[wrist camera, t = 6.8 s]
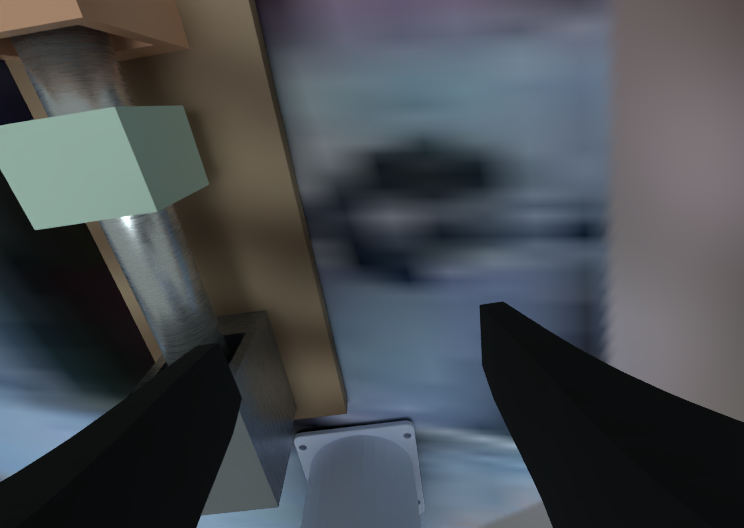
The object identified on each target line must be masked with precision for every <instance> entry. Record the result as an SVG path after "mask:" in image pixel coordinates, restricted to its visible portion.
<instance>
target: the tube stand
mask: <svg viewBox="0 0 744 528" xmlns="http://www.w3.org/2000/svg"><path fill="white" fill-rule="evenodd" d="M75 25H81V26H85V27H89V28H92V29H96V30H100V31H104V32H107V34H108V37H109V40H110V42H111V45H112V47H113V50H114V53H115V55H116V58H117V60H118V63H119V66H120V68H121V71H122V73H123V76H124V79H125V81H126V84H127V86H128V89H129V92H130V94H131V97H132V99H133V102H134V105H135V106H174V105H183V107H184V110H185V113H186V116H187V119H188V122H189V125H190V128H191V131H192V134H193V137H194V140H195V143H196V146H197V149H198V152H199V155H200V158H201V161H202V164H203V167H204V170H205V173H206V176H207V179H208V182H209V185H207V186H205V187H204V188H202V189H200V190H198V191H196V192H194V193H192V194H190V195H188V196H186V197H185V198H183V199H181V200H179V201H177V202H175V203H173V206H174V209H175V211H176V214H177V216H178V219H179V222H180V224H181V227H182V229H183V232H184V234H185V237H186V240H187V242H188V245H189V247H190V250H191V253H192V255H193V258H194V260H195V263H196V266H197V268H198V271H199V273H200V276H201V279H202V281H203V284H204V286H205V289H206V292H207V294H208V297H209V299H210V302H211V305H212V307H213V310H214V312H215V315H216V318H217V320H218V323H219V325H220V328H221V331H222V333H223V336H224V338H225V341H226V344H227V346H228V349H229V351H230V354H231V357H232V360H231V362H230V364H229V367H230V370H231V372H232V375H233V377H234V380H235V382H236V385H237V387H238V389H239V392H240V394H241V397H242V400H241V404H240V409H239V413H238V418H237V421H236V425H235V429H234V432H233V435H232V438H231V441H230V443H229V446H228V449H227V451H226V454H225V456H224V459H223V461H222V464H221V466H220V469H219V471H218V474H217V476H216V479H215V481H214V484H213V487H212V489H211V492H210V494H209V497H208V499H207V502H206V504H205V507H204V509H203V512H202V514H201V515H209V514H219V513H228V512H238V511H247V510H256V509H266V508H275V507H278V506H279V502H280V497H281V493H282V488H283V483H284V479H285V474H286V470H287V465H288V460H289V456H290V451H291V447H292V442H293V438H294V433H295V432H294V429H293V422H294V420H297V419H305V418H314V417H322V416H331V415H339V414H347V397H346V393H345V388H344V384H343V380H342V375H341V371H340V367H339V362H338V358H337V354H336V350H335V345H334V341H333V337H332V332H331V328H330V324H329V319H328V315H327V311H326V306H325V302H324V298H323V293H322V289H321V285H320V281H319V276H318V272H317V268H316V263H315V259H314V255H313V250H312V246H311V242H310V237H309V233H308V229H307V224H306V220H305V216H304V211H303V207H302V203H301V199H300V194H299V190H298V186H297V181H296V177H295V173H294V168H293V164H292V160H291V155H290V151H289V147H288V142H287V138H286V134H285V130H284V125H283V121H282V117H281V112H280V108H279V104H278V99H277V95H276V91H275V86H274V82H273V78H272V73H271V69H270V65H269V61H268V56H267V52H266V48H265V43H264V39H263V35H262V30H261V26H260V22H259V17H258V13H257V9H256V4H255V0H0V59H2V60H5V62H6V64H7V66H8V68H9V70H10V72H11V74H12V76H13V78H14V80H15V82H16V84H17V86H18V88H19V90H20V92H21V94H22V96H23V98H24V100H25V102H26V104H27V106H28V108H29V110H30V112H31V114H32V116H33V118H34V120H37V119H43V118H48V116H47V114H46V112H45V110H44V108H43V105H42V103H41V101H40V99H39V97H38V95H37V93H36V91H35V89H34V87H33V85H32V83H31V81H30V79H29V76H28V74H27V72H26V70H25V68H24V66H23V64H22V62H21V60H20V58H19V56H18V54H17V52H16V50H15V47H14V45H13V43H12V41H11V39H10V37H12V36H18V35H24V34H29V33H35V32H41V31H46V30H52V29H58V28H63V27H69V26H75ZM86 224H87V226H88V228H89V230H90V232H91V234H92V236H93V238H94V240H95V242H96V244H97V246H98V248H99V250H100V252H101V254H102V256H103V258H104V260H105V262H106V264H107V266H108V268H109V270H110V272H111V274H112V276H113V278H114V280H115V282H116V284H117V286H118V288H119V290H120V292H121V294H122V296H123V298H124V300H125V302H126V304H127V306H128V308H129V310H130V312H131V314H132V316H133V318H134V320H135V322H136V324H137V326H138V328H139V330H140V332H141V334H142V336H143V338H144V340H145V342H146V344H147V346H148V348H149V350H150V352H151V354H152V356H153V358H154V360H155V362H156V363H155V364H154V365H153V366H152V368H151V369H150V370H149V371H148V372H147V374H146V375H145V376H144V377H143V379H142V380H141V381H140V382H139V384H138V385H137V386H136V387H135V389H134V390H133V391H132V392H131V393H130V395H131V394H132V393H134V392H135V391H136V390H138V389H139V388H140V387H142V386H143V385H144V384H146V383H147V382H148V381H150V380H151V379H152V378H153V377H155V376H156V375H157V374H159V373H160V372H161V371H163V370H164V369H165V368H167V367H168V364H167V362H166V360H165V358H164V356H163V354H162V352H161V350H160V348H159V346H158V344H157V342H156V340H155V337H154V335H153V333H152V331H151V329H150V327H149V325H148V323H147V321H146V319H145V317H144V315H143V313H142V311H141V308H140V306H139V304H138V302H137V300H136V298H135V296H134V294H133V292H132V290H131V288H130V286H129V284H128V282H127V279H126V277H125V275H124V273H123V271H122V269H121V267H120V265H119V263H118V261H117V259H116V257H115V255H114V253H113V250H112V248H111V246H110V244H109V242H108V240H107V238H106V236H105V234H104V232H103V230H102V228H101V226H100V224H99V221H92V222H86ZM130 395H129V396H130Z"/></svg>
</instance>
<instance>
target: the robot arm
mask: <svg viewBox="0 0 744 528" xmlns="http://www.w3.org/2000/svg"><path fill="white" fill-rule="evenodd" d="M480 325H481V348H482V366H483V369H484V372H485V375H486V378H487V381H488V384H489V387H490V390H491V393H492V395H493V398H494V401H495V403H496V405H497V407H498V409H499V411H500V413H501V415H502V417H503V419H504V421H505V424H506V426H507V428H508V430H509V432H510V434H511V436H512V438H513V440H514V442H515V444H516V446H517V448H518V450H519V452H520V454H521V456H522V458H523V460H524V462H525V464H526V466H527V469H528V471H529V473H530V475H531V477H532V479H533V481H534V483H535V485H536V487H537V490H538V492H539V494H540V496H541V499H542V501H543V503H544V506H545V508H546V511H547V514H548V516H549V519H550V521H551V524H552V526H553V528H744V422H741V421H738V420H736V419H733V418H731V417H728V416H725V415H723V414H720V413H718V412H715V411H712V410H710V409H707V408H705V407H702V406H700V405H697V404H695V403H692V402H689V401H687V400H685V399H682V398H680V397H677V396H675V395H672V394H670V393H668V392H665V391H663V390H661V389H659V388H656V387H654V386H652V385H650V384H648V383H645V382H644V381H641V380H639V379H637V378H635V377H633V376H630V375H628V374H626V373H624V372H622V371H620V370H618V369H616V368H614V367H612V366H610V365H608V364H606V363H604V362H603V361H601V360H599V359H597V358H595V357H593V356H591V355H590V354H588V353H586V352H584V351H582V350H580V349H579V348H577V347H575V346H573V345H572V344H570V343H568V342H567V341H565V340H563V339H561V338H560V337H558V336H557V335H555V334H553V333H552V332H550V331H548V330H547V329H545V328H544V327H542V326H540V325H539V324H537V323H536V322H534V321H533V320H531V319H529V318H528V317H526V316H525V315H523V314H522V313H520V312H519V311H517V310H516V309H514V308H512V307H511V306H509V305H508V304H506V303H504V302H497V303H490V304H483V305H480ZM241 400H242V397H241V394H240V392H239V389H238V387H237V385H236V382H235V380H234V377H233V375H232V372H231V370H230V367H229V365H228V363H227V360H226V358H225V355H224V353H223V350H222V348H221V345H220V343H212V344H205V345H198V346H197V347H195V348H193V349H192V350H190V351H189V352H187V353H186V354H184V355H183V356H182V357H180V358H179V359H177V360H176V361H175V362H173V363H172V364H171V365H169V366H168V367H167V368H165V369H164V370H163V371H161V372H160V373H159V374H157V375H156V376H155V377H153V378H152V379H151V380H150V381H148V382H147V383H146V384H144V385H143V386H142V387H140V388H139V389H138V390H136V391H135V392H134V393H132V394H131V395H130V396H128V397H127V398H126V399H124V400H123V401H122V402H120V403H119V404H118V405H116V406H115V407H113V408H112V409H111V410H109V411H108V412H106V413H105V414H104V415H102V416H101V417H99V418H98V419H97V420H95V421H94V422H93V423H91V424H90V425H88V426H87V427H86V428H84V429H83V430H81V431H80V432H78V433H77V434H76V435H74V436H73V437H71V438H70V439H68V440H67V441H65V442H64V443H62V444H61V445H59V446H58V447H56V448H55V449H53V450H52V451H50V452H48V453H47V454H45V455H44V456H42V457H41V458H39V459H37V460H36V461H34V462H33V463H31V464H29V465H28V466H26V467H25V468H23V469H21V470H20V471H18V472H17V473H15V474H13V475H12V476H10V477H8V478H7V479H5V480H3V481H1V482H0V528H196V527H197V524H198V522H199V519H200V517H201V514H202V512H203V509H204V507H205V504H206V502H207V499H208V497H209V494H210V492H211V489H212V487H213V484H214V481H215V479H216V476H217V474H218V471H219V469H220V466H221V464H222V461H223V459H224V456H225V454H226V451H227V449H228V446H229V443H230V441H231V438H232V435H233V432H234V429H235V425H236V421H237V418H238V413H239V409H240V404H241ZM406 433H407V434H406ZM294 444H295V447H296V450H297V453H298V456H299V459H300V462H301V465H302V468H303V471H304V474H305V477H306V480H307V483H308V486H307V492H306V499H305V505H304V512H303V518H302V524H301V528H421V522H420V515H419V514H422V513H424V511H425V506H424V498H423V491H422V483H421V476H420V468H419V461H418V454H417V446H416V439H415V431H414V425H413V423H412V422H411V421H406V420H405V421H396V422H388V423H379V424H371V425H362V426H354V427H345V428H336V429H328V430H319V431H311V432H302V433H298V434H296V435H295V438H294Z"/></svg>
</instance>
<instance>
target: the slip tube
mask: <svg viewBox="0 0 744 528" xmlns="http://www.w3.org/2000/svg"><path fill="white" fill-rule="evenodd" d="M10 39H11V41H12V43H13V45H14V47H15V50H16V52H17V54H18V56H19V58H20V60H21V62H22V64H23V66H24V68H25V70H26V72H27V74H28V76H29V79H30V81H31V83H32V85H33V87H34V89H35V91H36V93H37V95H38V97H39V99H40V101H41V103H42V105H43V108H44V110H45V112H46V114H47V116H48V118H43V119H37V120H31V121H25V122H19V123H13V124H7V125H1V126H0V169H1V171H2V173H3V174H4V176H5V178H6V180H7V182H8V183H9V185H10V187H11V189H12V190H13V192H14V194H15V196H16V197H17V199H18V201H19V203H20V205H21V206H22V208H23V210H24V212H25V213H26V215H27V217H28V219H29V220H30V222H31V224H32V226H33V227H34V229H35V230H39V229H46V228H52V227H59V226H66V225H72V224H79V223H86V222H92V221H99V224H100V226H101V228H102V230H103V232H104V234H105V236H106V238H107V240H108V242H109V244H110V246H111V248H112V250H113V253H114V255H115V257H116V259H117V261H118V263H119V265H120V267H121V269H122V271H123V273H124V275H125V277H126V279H127V282H128V284H129V286H130V288H131V290H132V292H133V294H134V296H135V298H136V300H137V302H138V304H139V306H140V308H141V311H142V313H143V315H144V317H145V319H146V321H147V323H148V325H149V327H150V329H151V331H152V333H153V335H154V337H155V340H156V342H157V344H158V346H159V348H160V350H161V352H162V354H163V356H164V358H165V360H166V362H167V364H168V366H169V365H171V364H172V363H173V362H175V361H176V360H177V359H179V358H180V357H182V356H183V355H184V354H186V353H187V352H189V351H190V350H192V349H193V348H195V347H197V346H198V345H205V344H212V343H220V345H221V348H222V350H223V353H224V355H225V358H226V360H227V363H228V365H229V364H230V362H231V360H232V357H231V354H230V351H229V349H228V346H227V344H226V341H225V338H224V336H223V333H222V331H221V328H220V325H219V323H218V320H217V318H216V315H215V312H214V310H213V307H212V305H211V302H210V299H209V297H208V294H207V292H206V289H205V286H204V284H203V281H202V279H201V276H200V273H199V271H198V268H197V266H196V263H195V260H194V258H193V255H192V253H191V250H190V247H189V245H188V242H187V240H186V237H185V234H184V232H183V229H182V227H181V224H180V222H179V219H178V216H177V214H176V211H175V209H174V206H173V203H175V202H177V201H179V200H181V199H183V198H185V197H186V196H188V195H190V194H192V193H194V192H196V191H198V190H200V189H202V188H204V187H205V186H207V185H209V182H208V179H207V176H206V173H205V170H204V167H203V164H202V161H201V158H200V155H199V152H198V149H197V146H196V143H195V140H194V137H193V134H192V131H191V128H190V125H189V122H188V119H187V116H186V113H185V110H184V107H183V105H174V106H135V105H134V102H133V99H132V97H131V94H130V92H129V89H128V86H127V84H126V81H125V79H124V76H123V73H122V71H121V68H120V66H119V63H118V60H117V58H116V55H115V53H114V50H113V47H112V45H111V42H110V40H109V37H108V34H107V32H104V31H100V30H96V29H92V28H89V27H85V26H81V25H75V26H69V27H63V28H58V29H52V30H46V31H41V32H35V33H29V34H24V35H18V36H12V37H10Z"/></svg>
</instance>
